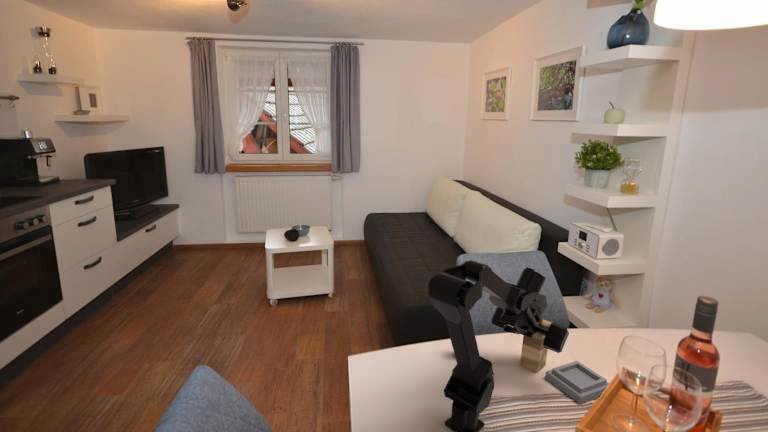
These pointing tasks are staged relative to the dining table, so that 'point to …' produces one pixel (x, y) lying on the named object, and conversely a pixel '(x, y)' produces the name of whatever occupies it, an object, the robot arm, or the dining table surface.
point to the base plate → (577, 381)
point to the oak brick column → (534, 350)
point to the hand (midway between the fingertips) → (535, 338)
